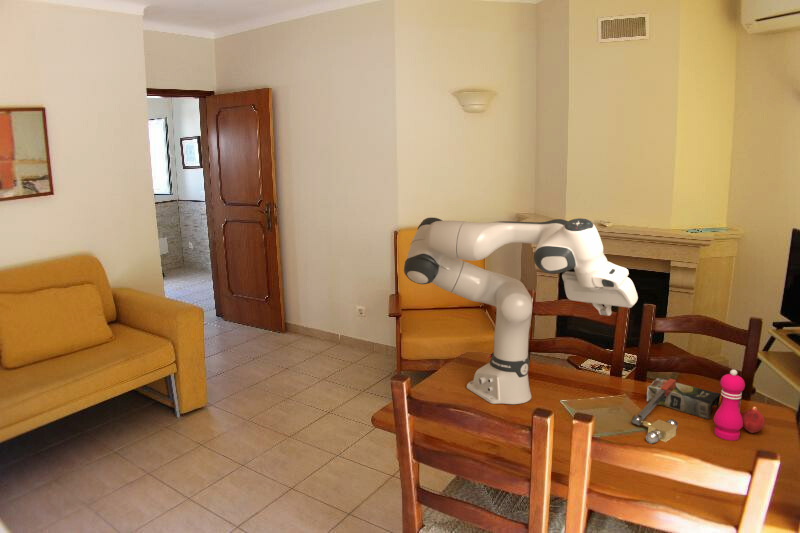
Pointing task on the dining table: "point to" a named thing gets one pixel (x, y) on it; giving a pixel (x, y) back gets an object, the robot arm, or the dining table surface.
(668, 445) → the dining table surface
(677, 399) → the juice carton
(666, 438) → the valve body
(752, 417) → the onion
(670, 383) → the valve lever
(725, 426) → the pepper mill
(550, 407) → the dining table surface
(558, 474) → the dining table surface
